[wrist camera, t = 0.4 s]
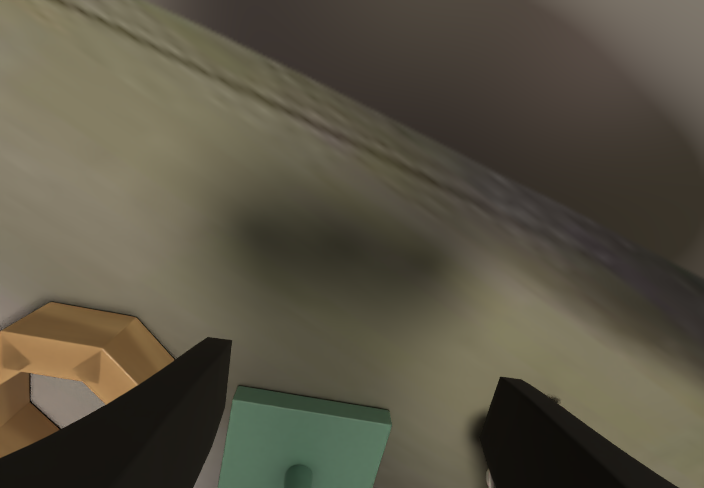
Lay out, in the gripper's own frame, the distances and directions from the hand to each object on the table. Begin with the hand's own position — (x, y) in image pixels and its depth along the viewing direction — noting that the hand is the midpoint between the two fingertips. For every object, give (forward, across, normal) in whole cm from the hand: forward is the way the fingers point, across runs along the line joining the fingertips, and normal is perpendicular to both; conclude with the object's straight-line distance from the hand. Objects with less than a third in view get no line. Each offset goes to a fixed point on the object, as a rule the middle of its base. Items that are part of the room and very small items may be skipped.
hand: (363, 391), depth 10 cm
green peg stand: (+10, +1, +13) cm, 16 cm away
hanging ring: (+10, +13, +10) cm, 19 cm away
